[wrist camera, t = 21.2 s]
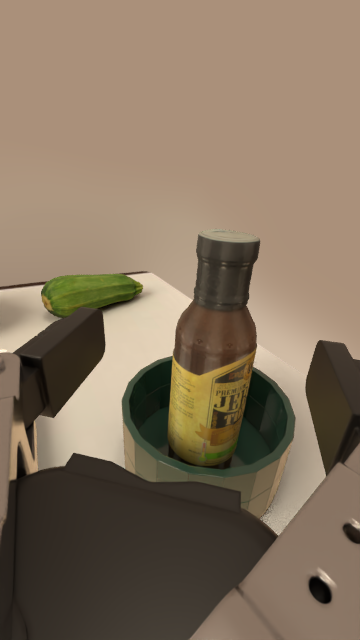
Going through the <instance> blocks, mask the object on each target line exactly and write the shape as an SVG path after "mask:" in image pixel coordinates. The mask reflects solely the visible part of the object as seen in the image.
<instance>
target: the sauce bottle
mask: <svg viewBox="0 0 360 640" xmlns="http://www.w3.org/2000/svg"><path fill="white" fill-rule="evenodd" d="M259 246H260V239H259V238H258V237H256V236H254V235H250V234H246V233H241V232H236V231H230V230H220V229H214V230H206V231H202V232H200V233H199V235H198V241H197V249H196V252H197V257H198V269H197V280H196V287H195V288H194V300H193V301H192V302H191V304H190V305H189V307H188V308H187V309H186V310H185V311H184V312H183V313H182V315H181V317H180V319H179V320H178V323H177V327H176V335H175V336H176V337H175V348H174V351H173V362H172V377H171V392H170V407H169V420H168V441H169V446H168V448H169V451H168V452H169V456H170V458H172V459H175V460H177V461H180V462H182V463H184V464H187V465H189V466H196V467H205V468H214V469H227V468H228V467H229V465H230V463H231V461H232V456H233V453H234V452H235V449H236V446H237V441H238V436H239V432H240V427H241V422H242V417H243V412H244V408H245V403H246V397H247V394H248V388H249V383H250V378H251V373H252V368H253V363H254V358H255V353H256V348H257V343H256V337H257V335H256V327H255V323H254V322H253V319H252V317H251V315H250V313H249V310H248V308H247V306H246V304H247V301H248V299H249V285H250V280H251V275H252V269H253V264H254V263H255V261H256V260H257V258H258V253H259Z"/></svg>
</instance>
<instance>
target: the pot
mask: <svg viewBox="0 0 360 640" xmlns="http://www.w3.org/2000/svg"><path fill="white" fill-rule="evenodd" d="M172 362H173V356H170V357H167V358H163V359H160V360H157V361H155V362H154V363H152V364H150V365H148V366H146V367H145V368H143V369H141V370H140V371H139V372H138V373H137V374H136V375H135V376H134V378H133V379H132V380H131V381H130V382H129V383H128V385H127V388H126V391H125V393H124V396H123V398H122V417H123V436H124V454H125V469H126V470H128V471H130V472H132V473H134V474H135V475H137V476H139V477H141V478H143V479H145V480H147V481H150V482H187V481H198V482H202V483H206V484H211V485H215V486H219V487H223V488H228V489H232V490H236V491H241V508H243V509H245V510H247V511H249V512H250V513H252V514H253V515H255V516H256V517H258V518H259V519H260V518H261V517H262V515H263V514H264V513H265V512H266V511H267V509H268V508H269V506H270V505H271V502H272V500H273V498H274V496H275V494H276V492H277V490H278V486H279V483H280V480H281V477H282V474H283V470H284V467H285V464H286V461H287V457H288V454H289V451H290V448H291V445H292V441H293V438H294V429H295V415H294V412H293V409H292V407H291V404H290V401H289V399H288V397H287V396H286V395H285V393H284V392H283V391H282V390H281V388H280V387H279V386H278V385H277V383H275V381H273V380H272V379H271V378H269V377H268V376H267V375H265V374H264V373H263V372H261V371H260V370H258V369H256V368H254V367H253V368H252V373H251V378H250V383H249V388H248V394H247V397H246V403H245V408H244V412H243V417H242V422H241V427H240V432H239V436H238V441H237V446H236V449H235V452H234V453H233V456H232V461H231V463H230V465H229V467H228V468H227V469H214V468H205V467H196V466H189V465H187V464H184V463H182V462H180V461H177V460H175V459H172V458H170V456H169V452H168V451H169V448H168V446H169V441H168V420H169V407H170V392H171V377H172Z"/></svg>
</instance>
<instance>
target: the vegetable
mask: <svg viewBox="0 0 360 640" xmlns="http://www.w3.org/2000/svg"><path fill="white" fill-rule="evenodd" d="M142 289H143V285H141V284H140V283H139V282H137V281H135V280H133V279H132V278H130V277H127V276H126V275H123V274H103V275H67V276H60V277H57V278H54V279H52V280H50V281H48V282H47V283H46V284H45V286H44V287H43V289H42V291H41V296H42V302H43V303H44V306H45V308H46V309H47V310H48V312H49V313H51V314H53V315H54V316H57V317H61V318H66V317H68V316H69V315H71V314H72V313H73V312H75V311H76V310H77V309H78V308H80V307H86V308H94V309H98V308H100V307H103V306H106V305H109V304H111V303H115V302H120V301H127V300H130V299H132V298H133V297H134V296H135V295H137V294H139V293H141V292H142Z"/></svg>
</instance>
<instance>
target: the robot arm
mask: <svg viewBox="0 0 360 640" xmlns="http://www.w3.org/2000/svg"><path fill="white" fill-rule="evenodd" d="M104 352H105V334H104V322H103V314H102V311H101V310H100V309H94V308H86V307H80V308H78V309H77V310H76V311H75V312H73V313H72V314H71V315H69V316H68V317H66V318H63V319H61V320H58V321H56V322H54V323H52V324H51V325H50V326H48V327H47V328H46V329H45V330H43V331H42V332H40V333H39V334H38V336H35V337H34V338H32V339H31V340H30V341H28V342H27V343H26V344H24V345H23V346H22V347H20V348H19V349H17V350H16V351H15V352H13V353H7V352H2V353H0V640H360V360H355V359H353V358H352V357H351V355H350V353H349V352H348V349H347V347H346V346H345V344H343V343H338V342H330V341H323V340H319V341H318V343H317V345H316V348H315V351H314V355H313V358H312V362H311V365H310V369H309V372H308V375H307V379H306V396H307V400H308V404H309V408H310V412H311V416H312V420H313V424H314V428H315V432H316V436H317V440H318V444H319V448H320V452H321V456H322V460H323V464H324V468H325V472H326V478H325V479H324V480H323V481H322V483H321V484H320V485H319V486H318V488H317V489H316V490H315V491H314V493H313V494H312V495H311V496H310V498H309V499H308V500H307V501H306V503H305V504H304V505H303V506H302V508H301V509H300V510H299V511H298V513H297V514H296V515H295V516H294V518H293V519H292V520H291V521H290V523H289V524H288V525H287V526H286V528H285V529H284V530H283V532H282V533H281V534H280V535H279V536H278V535H277V534H276V533H275V532H274V531H273V530H272V529H271V528H270V527H269V526H268V525H266V524H265V523H264V522H263V521H262V520H260V519H259V518H258V517H256V516H255V515H253V514H252V513H250V512H249V511H247V510H245V509H243V508H241V491H236V490H232V489H228V488H223V487H219V486H215V485H211V484H206V483H202V482H198V481H187V482H150V481H147V480H145V479H143V478H141V477H139V476H137V475H135V474H134V473H132V472H130V471H128V470H126V469H124V468H122V467H121V466H119V465H117V464H115V463H113V462H111V461H107V460H102V459H98V458H94V457H89V456H85V455H81V454H76V453H73V455H72V456H71V458H70V459H69V461H68V462H67V464H66V466H60V467H53V468H48V469H44V470H40V471H38V459H37V434H36V424H35V419H36V418H37V417H38V416H39V415H42V416H47V417H52V418H54V417H55V416H56V414H57V413H58V412H59V411H60V410H61V408H62V407H63V406H64V405H65V403H66V402H67V401H68V400H69V398H70V397H71V396H72V395H73V394H74V392H75V391H76V390H77V389H78V387H79V386H80V385H81V384H82V383H83V381H84V380H85V379H86V378H87V376H88V375H89V374H90V373H91V371H92V370H93V369H94V368H95V367H96V365H97V364H98V363H99V362H100V360H101V359H102V357H103V355H104Z"/></svg>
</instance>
